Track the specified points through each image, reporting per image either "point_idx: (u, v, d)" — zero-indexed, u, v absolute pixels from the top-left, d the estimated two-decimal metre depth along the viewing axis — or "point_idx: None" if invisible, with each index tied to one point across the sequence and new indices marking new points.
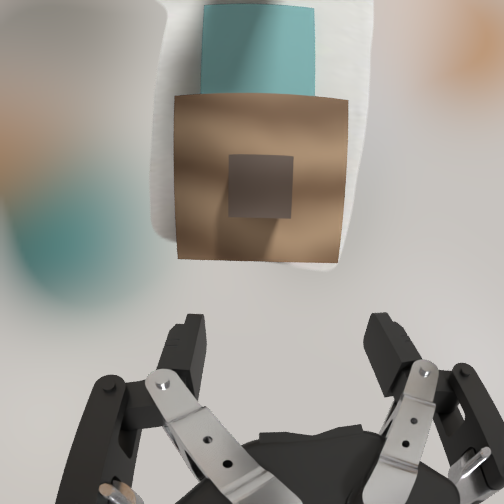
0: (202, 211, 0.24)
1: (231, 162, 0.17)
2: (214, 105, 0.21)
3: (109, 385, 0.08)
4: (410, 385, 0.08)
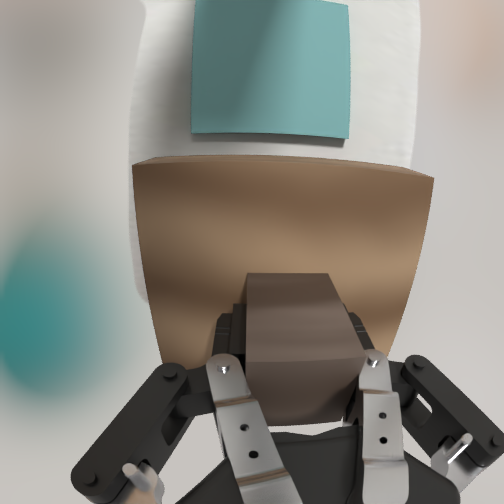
0: (197, 345, 0.16)
1: (251, 372, 0.09)
2: (206, 185, 0.12)
3: (170, 372, 0.09)
4: (363, 379, 0.09)
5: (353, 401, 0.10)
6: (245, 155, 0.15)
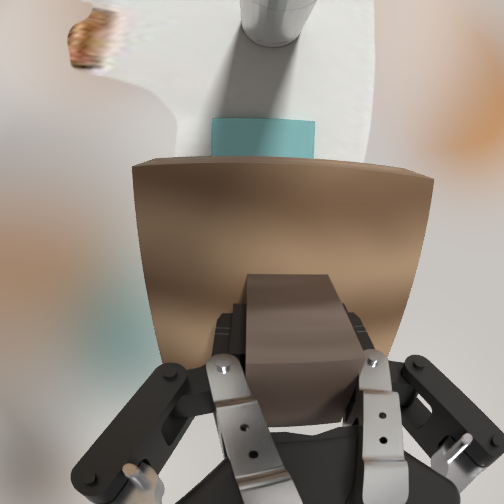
0: (197, 346, 0.16)
1: (251, 373, 0.09)
2: (206, 187, 0.12)
3: (170, 373, 0.09)
4: (363, 379, 0.09)
5: (353, 401, 0.10)
6: (245, 156, 0.15)
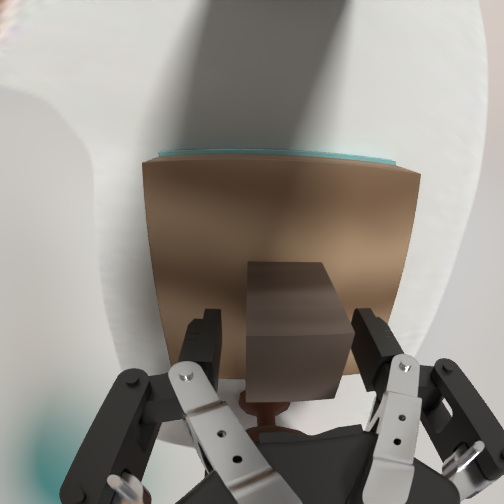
0: None
1: (250, 346, 0.10)
2: (210, 181, 0.14)
3: (132, 379, 0.08)
4: (392, 381, 0.08)
5: None
6: (245, 154, 0.16)
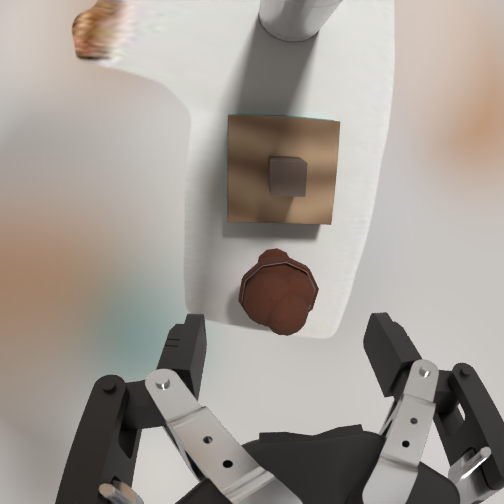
0: (245, 190, 0.38)
1: (273, 165, 0.31)
2: (255, 123, 0.34)
3: (109, 385, 0.08)
4: (410, 385, 0.08)
5: None
6: None
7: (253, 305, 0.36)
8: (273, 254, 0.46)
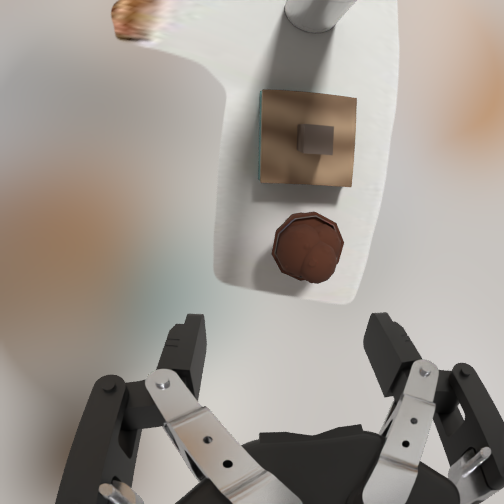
0: (277, 154, 0.42)
1: (305, 127, 0.35)
2: (285, 97, 0.38)
3: (109, 385, 0.08)
4: (410, 385, 0.08)
5: None
6: None
7: (288, 253, 0.40)
8: None
